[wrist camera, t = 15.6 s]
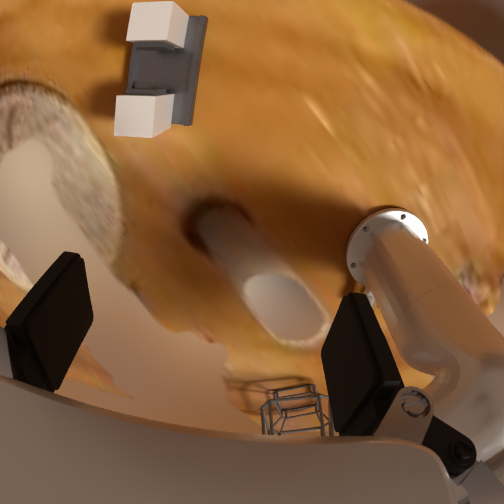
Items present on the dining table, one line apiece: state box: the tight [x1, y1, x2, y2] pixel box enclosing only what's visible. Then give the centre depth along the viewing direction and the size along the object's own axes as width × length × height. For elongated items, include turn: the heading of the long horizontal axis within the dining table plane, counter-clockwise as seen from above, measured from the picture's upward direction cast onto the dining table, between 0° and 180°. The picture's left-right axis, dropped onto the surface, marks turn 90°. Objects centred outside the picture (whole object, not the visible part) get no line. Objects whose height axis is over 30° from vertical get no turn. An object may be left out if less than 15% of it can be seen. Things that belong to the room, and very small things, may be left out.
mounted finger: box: [126, 1, 189, 51], centre depth 24 cm, size 5×4×7 cm
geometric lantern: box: [261, 384, 334, 436], centre depth 44 cm, size 16×16×35 cm
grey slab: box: [127, 16, 208, 126], centre depth 30 cm, size 13×8×2 cm, turn 171°
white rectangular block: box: [114, 88, 174, 138], centre depth 29 cm, size 5×4×7 cm
